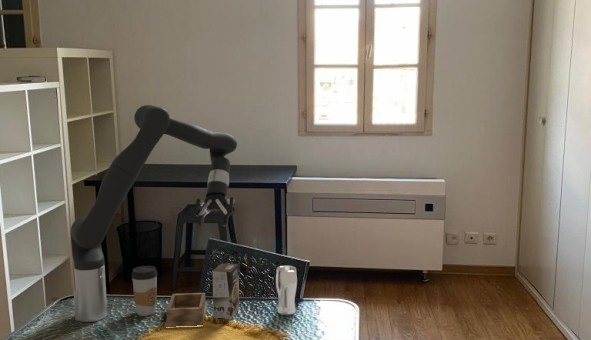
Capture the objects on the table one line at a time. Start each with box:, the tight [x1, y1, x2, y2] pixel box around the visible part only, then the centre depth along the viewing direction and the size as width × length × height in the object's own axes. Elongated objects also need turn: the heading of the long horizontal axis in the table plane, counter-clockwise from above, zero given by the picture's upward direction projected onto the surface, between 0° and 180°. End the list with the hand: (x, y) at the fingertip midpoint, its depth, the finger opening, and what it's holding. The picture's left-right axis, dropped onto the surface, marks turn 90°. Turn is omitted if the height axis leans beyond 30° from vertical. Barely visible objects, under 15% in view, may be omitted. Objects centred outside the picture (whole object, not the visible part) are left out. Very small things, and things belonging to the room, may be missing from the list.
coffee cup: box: [131, 265, 158, 317], centre depth 184 cm, size 8×8×15 cm
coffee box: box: [212, 263, 240, 320], centre depth 182 cm, size 9×6×16 cm
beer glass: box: [275, 265, 298, 316], centre depth 184 cm, size 7×7×15 cm
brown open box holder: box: [163, 292, 208, 328], centre depth 182 cm, size 12×20×5 cm, turn 5°
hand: (212, 226), depth 191 cm, fingers open, 8 cm apart
